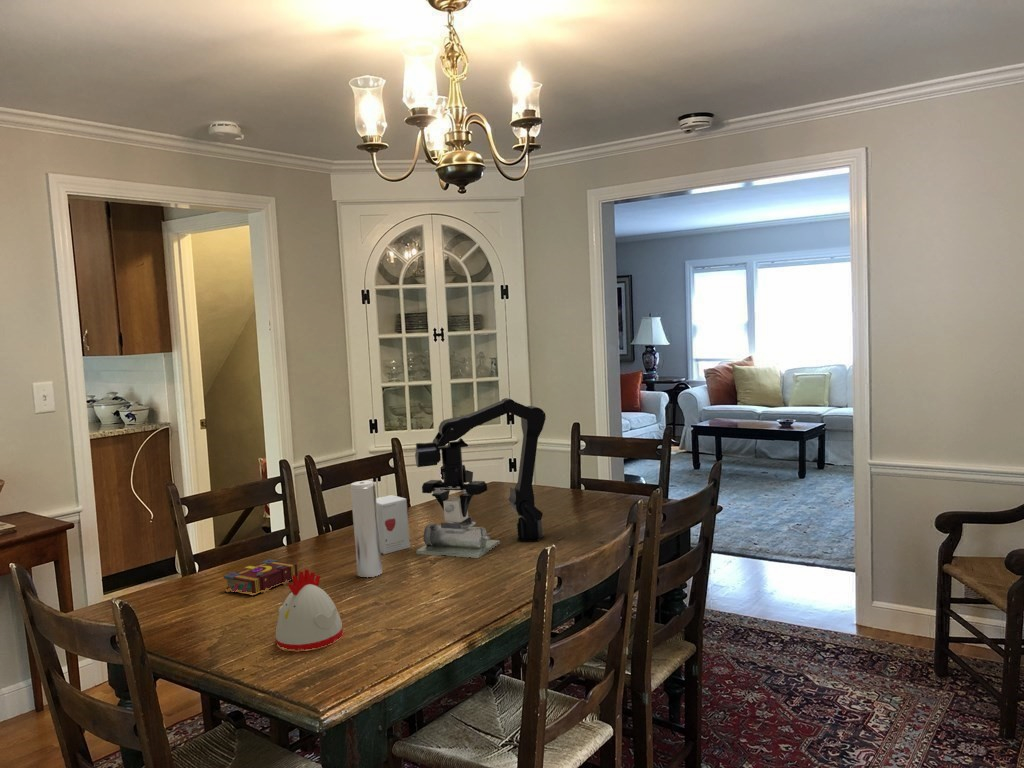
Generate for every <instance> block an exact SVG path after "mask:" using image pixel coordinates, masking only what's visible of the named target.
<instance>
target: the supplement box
mask: <svg viewBox="0 0 1024 768" xmlns="http://www.w3.org/2000/svg"><path fill="white" fill-rule="evenodd" d="M376 503H377V515H378V527H379V539H380V551H381V554H383V555H387V554H391V553H395V552H398V551H402V550H406V549H409V548H411V545H410V533H409V532H410V531H409V517H408V503H407V498H404V497H401V496H397V495H393V494H390V495H384V496H381V497H376Z"/></svg>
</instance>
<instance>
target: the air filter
mask: <svg viewBox="0 0 1024 768" xmlns="http://www.w3.org/2000/svg"><path fill="white" fill-rule="evenodd" d="M376 491H377V490H376V485H375V484H374V483H373V481H371V480H361V481H360V480H359V481H354V482H352V483H350V498H351V510H352V512H351V513H352V522H353V533H354V534H353V536H354V544H355V556H356V557H355V558H356V570H357V576H358V577H359V576H360V577H367V578H366V579H369V578H368V577H372V578H376V577H379V576H381V575H382V574H383V566H382V553H381V551H380V539H379V527H378V515H377V503H376V498H377V496H376V495H377V492H376ZM380 574H381V575H380ZM378 575H379V576H378ZM375 576H376V577H375ZM360 577H359V578H360Z"/></svg>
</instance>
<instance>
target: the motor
mask: <svg viewBox="0 0 1024 768" xmlns="http://www.w3.org/2000/svg"><path fill="white" fill-rule="evenodd" d="M475 525H476V521H473V516H468V518H467V519H466V520H464V521H462V522H443V521H442V522H440V524H438V523H428V524H427V525H426V526H425V528H424V532H423V542H424V544H425V545H423V546H422V547H419V548H418V549H416V551H415V553H416V555H417V554H418V555H429V556H430V555H431V556H441V555H446V556H445V557H455V556H456V557H458V558H469V557H471V559H472V558H473V559H474V558H475V559H480V558H481V557H482V555H483V556H484V555H486V554H487V553H488V552H490V551H491V550H493V549H495V548H496V547H497V546H499V545H500V544H501V540H497V539H491V536H489V535H488V534H487V533H488V532H487V529H486V528H485V527H482V526H475ZM498 544H499V545H498ZM495 546H496V547H495ZM492 548H493V549H492ZM489 550H490V551H489ZM486 552H487V553H486ZM479 557H480V558H479Z"/></svg>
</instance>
